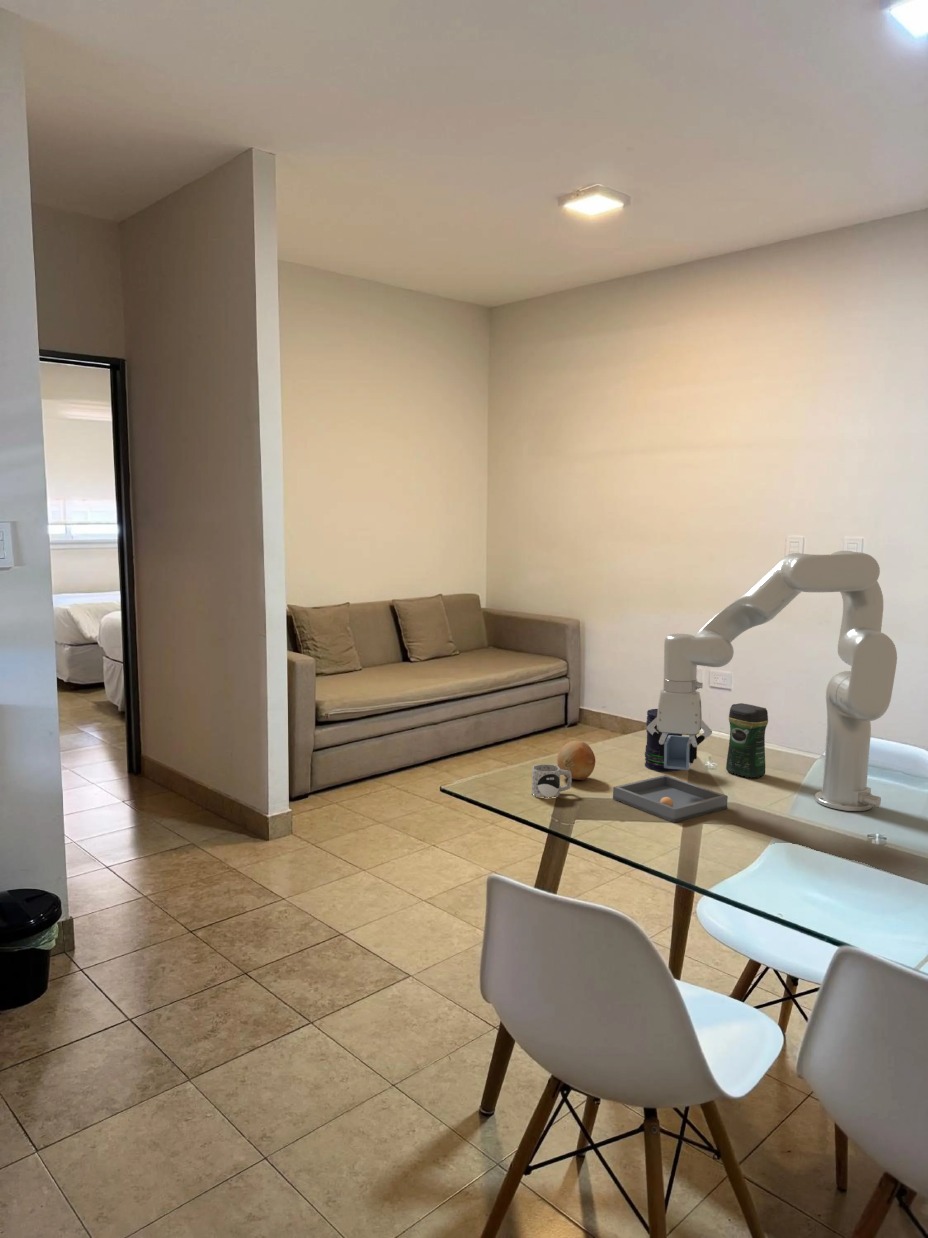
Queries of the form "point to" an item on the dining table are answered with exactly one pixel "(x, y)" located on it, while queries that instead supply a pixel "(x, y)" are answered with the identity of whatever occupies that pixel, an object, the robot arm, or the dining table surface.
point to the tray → (683, 794)
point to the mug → (548, 780)
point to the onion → (576, 759)
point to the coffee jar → (747, 740)
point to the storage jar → (655, 747)
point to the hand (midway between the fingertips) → (678, 760)
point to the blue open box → (677, 752)
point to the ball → (667, 801)
